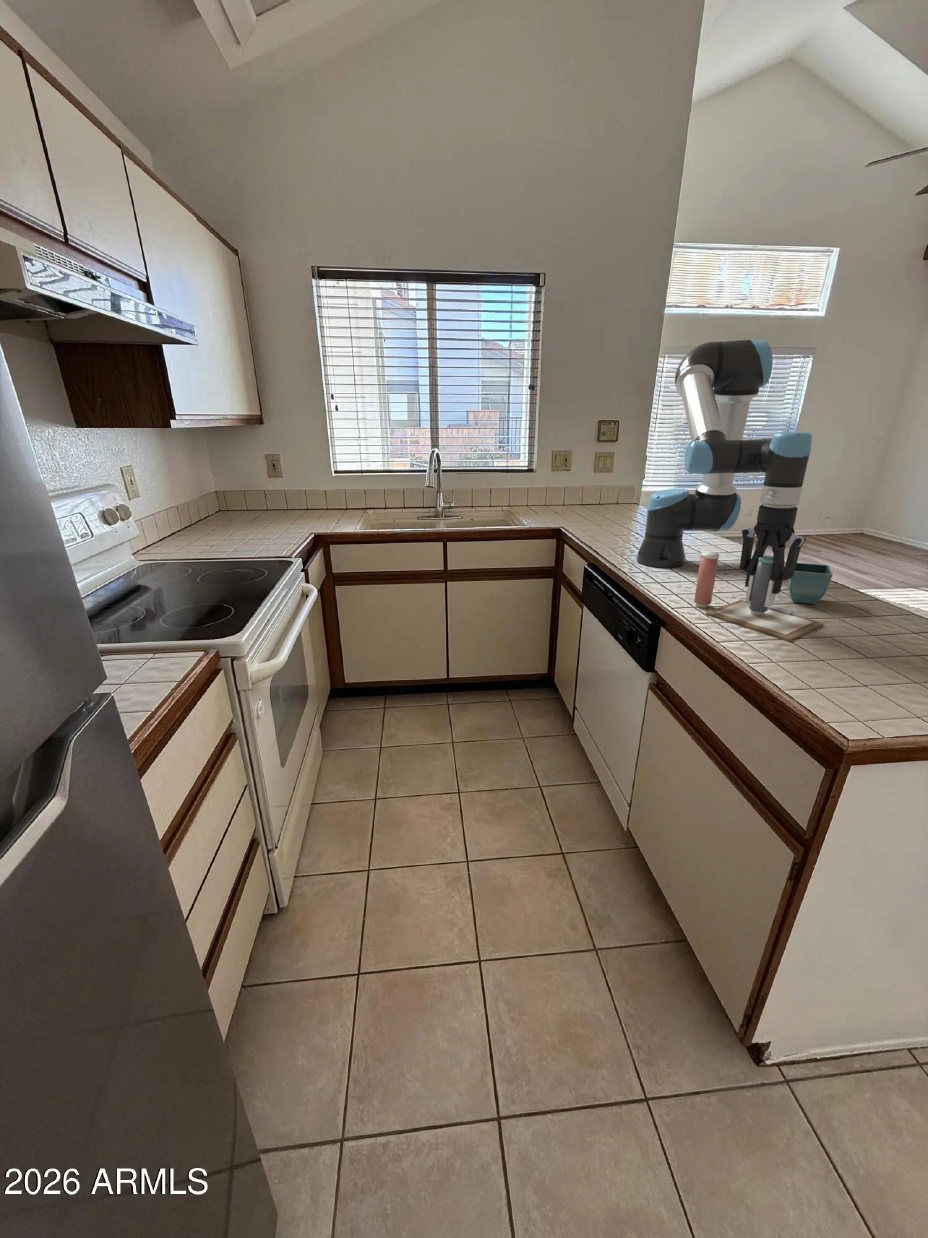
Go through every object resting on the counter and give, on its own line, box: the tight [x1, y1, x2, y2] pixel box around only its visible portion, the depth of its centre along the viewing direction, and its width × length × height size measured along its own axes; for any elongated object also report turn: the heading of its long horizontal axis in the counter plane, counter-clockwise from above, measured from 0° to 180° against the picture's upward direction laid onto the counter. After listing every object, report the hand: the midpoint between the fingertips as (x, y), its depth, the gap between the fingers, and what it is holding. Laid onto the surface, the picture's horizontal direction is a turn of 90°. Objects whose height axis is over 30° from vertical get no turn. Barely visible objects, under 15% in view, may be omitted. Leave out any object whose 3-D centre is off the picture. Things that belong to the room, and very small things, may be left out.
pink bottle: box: [694, 551, 720, 609], centre depth 130 cm, size 4×4×14 cm
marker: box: [749, 554, 774, 616], centre depth 122 cm, size 4×4×14 cm
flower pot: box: [787, 562, 833, 605], centre depth 133 cm, size 9×9×9 cm
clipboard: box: [705, 599, 824, 642], centre depth 123 cm, size 20×15×1 cm
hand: (759, 602), depth 124 cm, fingers closed on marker, 4 cm apart
